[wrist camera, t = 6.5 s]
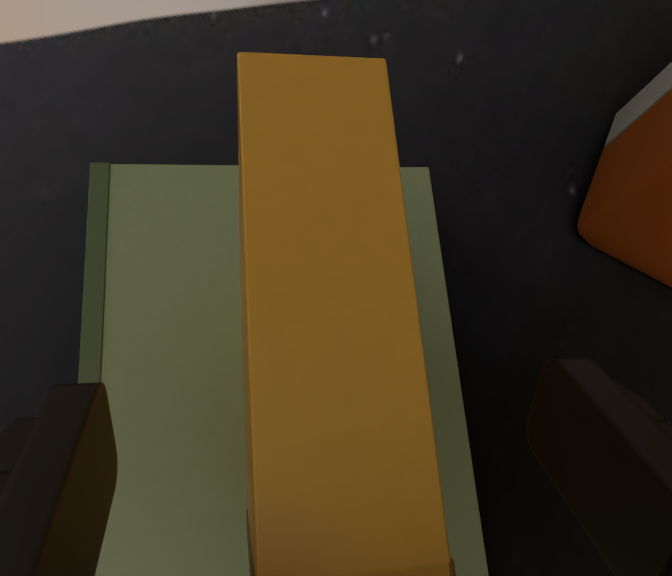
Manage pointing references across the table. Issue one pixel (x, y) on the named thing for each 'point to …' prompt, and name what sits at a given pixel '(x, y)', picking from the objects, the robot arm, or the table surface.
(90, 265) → the sage book
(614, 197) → the alarm clock
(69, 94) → the table surface
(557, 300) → the table surface
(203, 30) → the table surface
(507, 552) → the table surface
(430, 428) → the mustard book
